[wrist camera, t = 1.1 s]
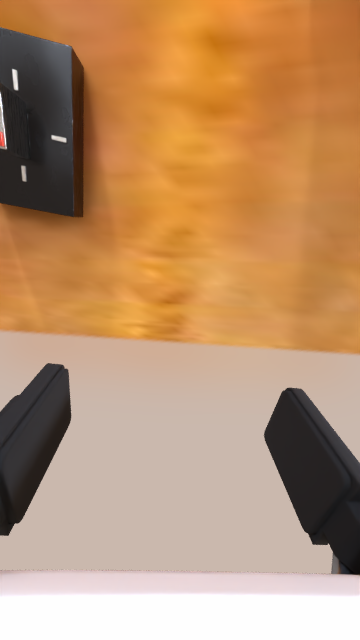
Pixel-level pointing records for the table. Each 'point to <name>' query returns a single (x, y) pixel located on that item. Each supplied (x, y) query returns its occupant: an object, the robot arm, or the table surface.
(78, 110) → the panel
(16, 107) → the hob knob
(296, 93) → the table surface
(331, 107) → the table surface
